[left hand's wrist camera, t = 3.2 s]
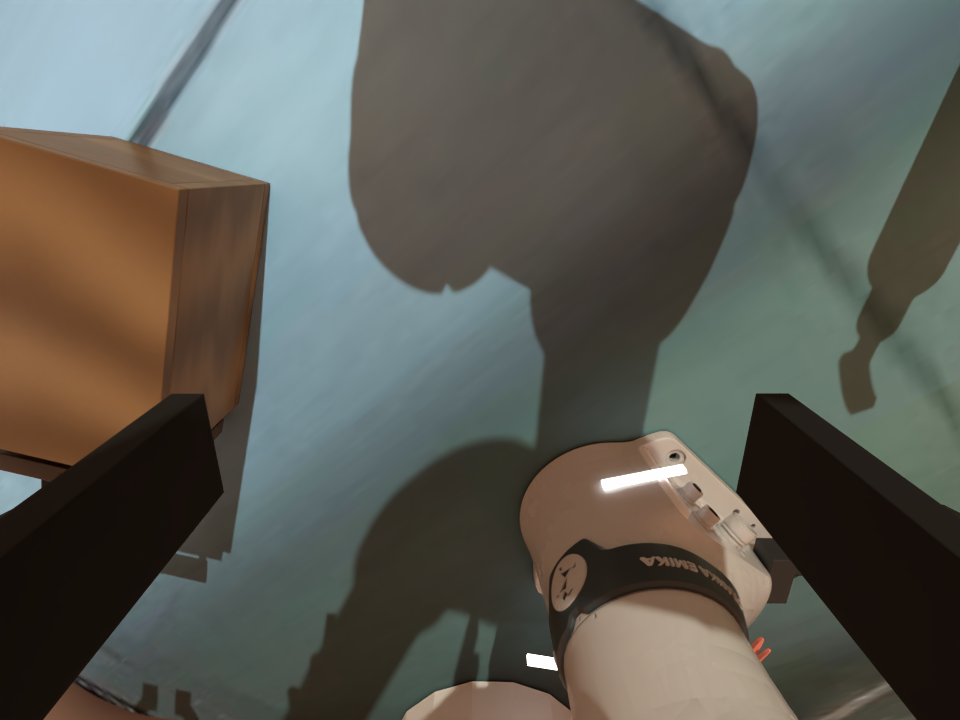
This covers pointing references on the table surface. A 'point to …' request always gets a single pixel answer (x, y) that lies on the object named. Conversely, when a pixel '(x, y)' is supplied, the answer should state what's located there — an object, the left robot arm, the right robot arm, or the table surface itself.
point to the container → (489, 703)
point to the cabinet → (117, 286)
